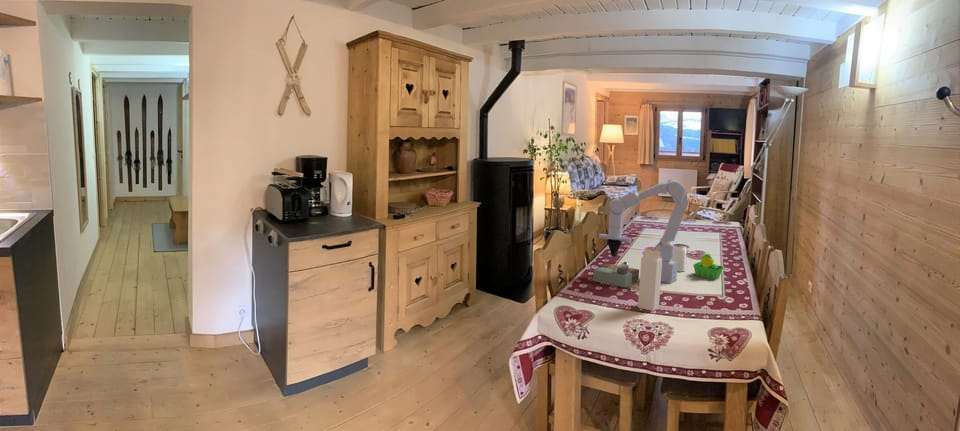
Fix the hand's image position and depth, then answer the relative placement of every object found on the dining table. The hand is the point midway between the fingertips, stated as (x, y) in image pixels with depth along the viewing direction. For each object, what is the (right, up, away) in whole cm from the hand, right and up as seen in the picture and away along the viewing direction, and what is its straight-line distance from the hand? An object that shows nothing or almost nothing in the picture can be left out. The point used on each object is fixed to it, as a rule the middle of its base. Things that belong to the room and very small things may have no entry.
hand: (613, 256), depth 247 cm
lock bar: (+1, -5, -8) cm, 9 cm away
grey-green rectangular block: (-2, -11, -7) cm, 13 cm away
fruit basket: (+43, -10, +3) cm, 44 cm away
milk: (+4, -17, -38) cm, 42 cm away
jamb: (+2, -10, -2) cm, 10 cm away
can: (+33, -8, +14) cm, 37 cm away
